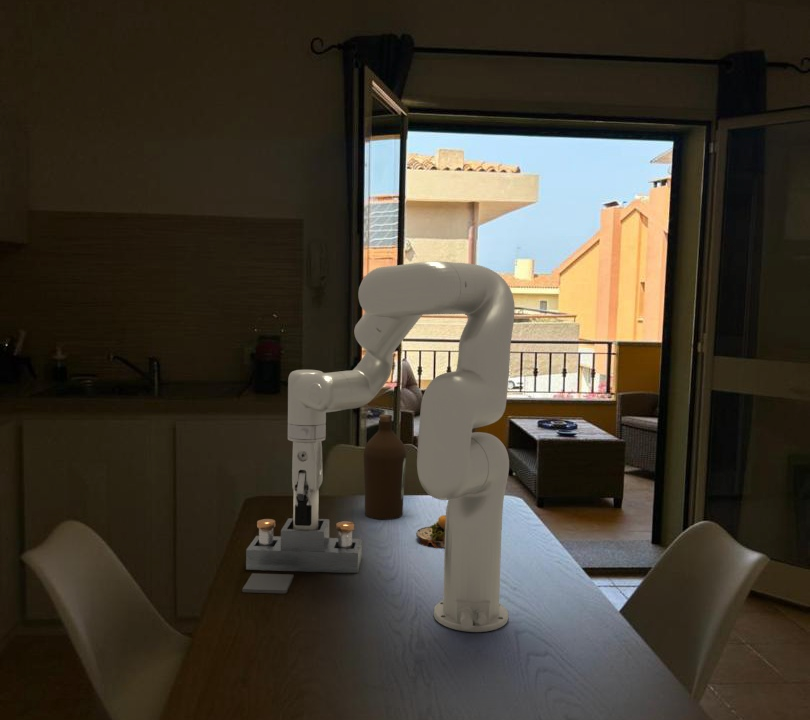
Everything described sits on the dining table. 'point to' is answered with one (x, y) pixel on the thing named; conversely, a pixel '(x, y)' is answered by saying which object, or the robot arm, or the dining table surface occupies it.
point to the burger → (433, 533)
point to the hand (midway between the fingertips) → (305, 519)
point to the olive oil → (384, 472)
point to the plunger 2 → (345, 534)
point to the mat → (268, 583)
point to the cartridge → (314, 516)
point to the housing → (304, 551)
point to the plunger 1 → (266, 532)
